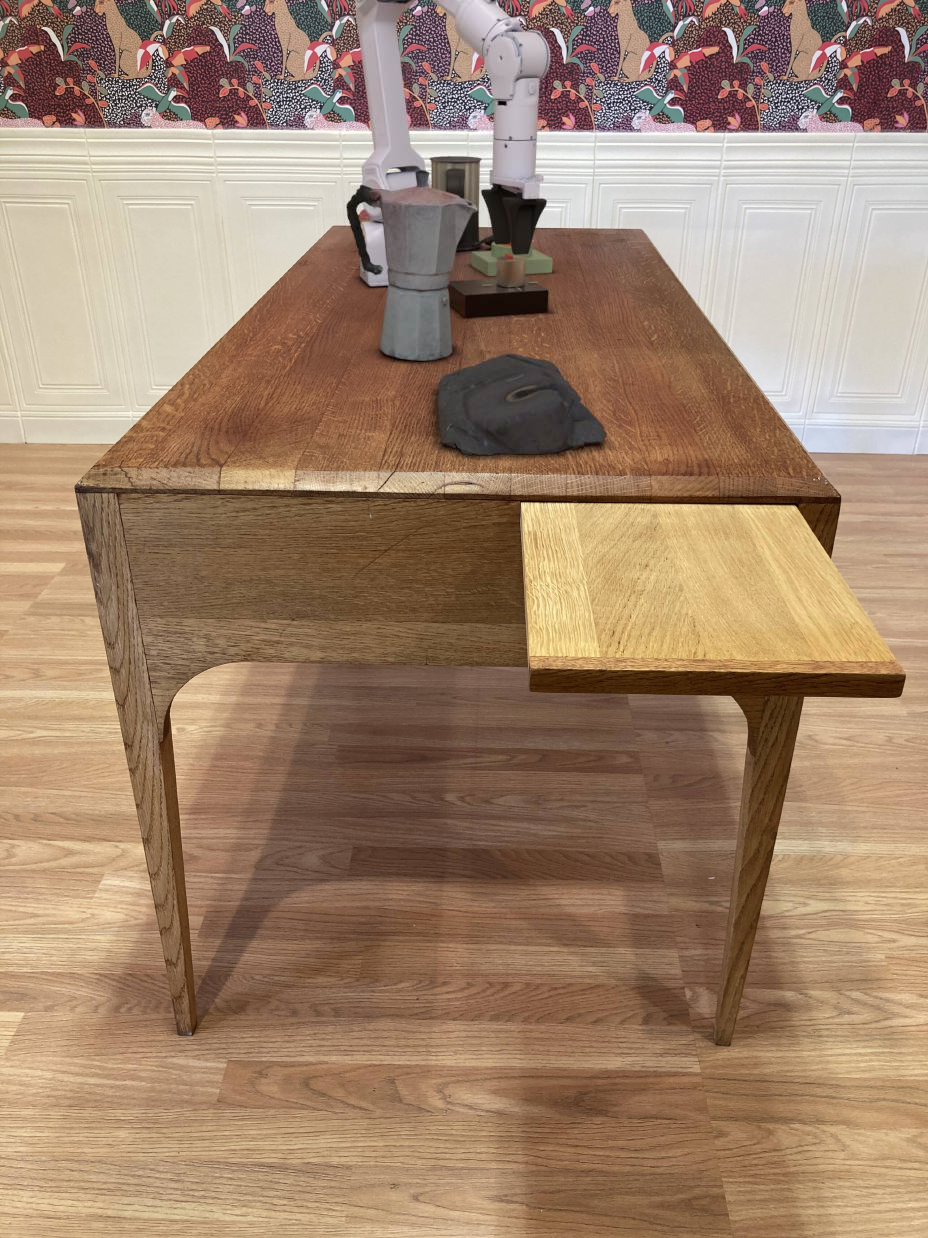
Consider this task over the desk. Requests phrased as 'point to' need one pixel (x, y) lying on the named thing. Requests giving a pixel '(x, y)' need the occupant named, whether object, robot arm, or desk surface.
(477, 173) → the milk frother
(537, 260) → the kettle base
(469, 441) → the slotted grey rock
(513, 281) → the temp dial
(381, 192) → the moka pot
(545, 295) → the panel
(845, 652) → the desk surface
